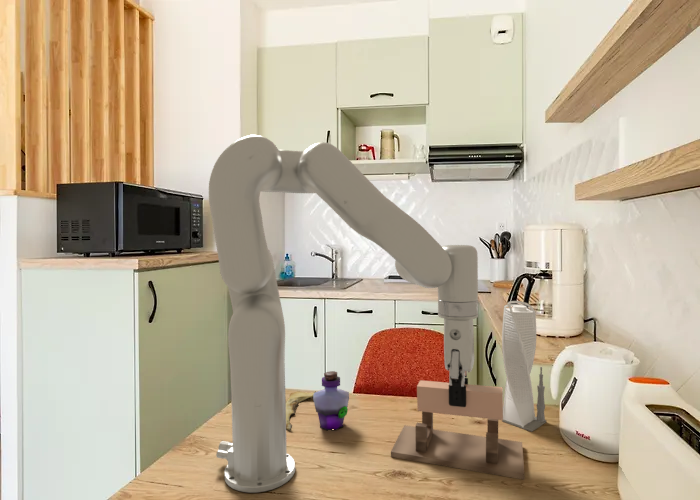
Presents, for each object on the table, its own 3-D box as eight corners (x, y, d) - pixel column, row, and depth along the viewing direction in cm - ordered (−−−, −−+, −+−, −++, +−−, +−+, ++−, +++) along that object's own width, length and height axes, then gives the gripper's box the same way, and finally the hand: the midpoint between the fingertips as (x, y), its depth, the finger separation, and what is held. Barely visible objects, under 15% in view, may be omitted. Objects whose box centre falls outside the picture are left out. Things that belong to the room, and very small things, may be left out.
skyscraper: (528, 434, 93) (529, 303, 91) (494, 421, 99) (494, 299, 98) (546, 422, 98) (547, 299, 97) (512, 411, 104) (513, 295, 103)
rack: (390, 456, 84) (390, 426, 84) (404, 429, 95) (404, 402, 95) (524, 479, 76) (524, 445, 76) (522, 446, 87) (522, 417, 87)
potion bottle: (342, 436, 92) (341, 381, 92) (305, 430, 95) (304, 376, 95) (356, 420, 101) (355, 368, 100) (321, 414, 104) (321, 365, 103)
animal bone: (292, 389, 117) (327, 387, 115) (293, 398, 117) (329, 395, 115) (261, 428, 96) (304, 425, 94) (263, 438, 96) (306, 435, 94)
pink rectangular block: (417, 411, 86) (416, 386, 86) (420, 404, 90) (420, 380, 89) (502, 420, 81) (502, 393, 81) (503, 412, 84) (502, 387, 84)
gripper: (475, 318, 75) (475, 422, 76) (480, 302, 91) (480, 388, 92) (431, 316, 78) (432, 416, 79) (443, 301, 93) (444, 385, 94)
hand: (458, 400), depth 85 cm, fingers closed on pink rectangular block, 3 cm apart
